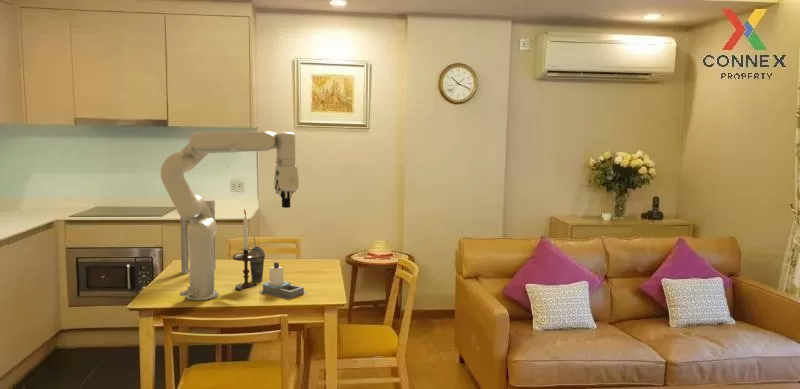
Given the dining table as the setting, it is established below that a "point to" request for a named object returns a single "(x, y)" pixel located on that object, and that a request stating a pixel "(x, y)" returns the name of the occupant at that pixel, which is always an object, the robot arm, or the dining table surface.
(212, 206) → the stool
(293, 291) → the blue-grey compartment tray
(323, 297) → the dining table surface
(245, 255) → the candlestick
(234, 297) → the dining table surface
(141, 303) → the dining table surface
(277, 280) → the white bottle
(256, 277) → the beverage cup
